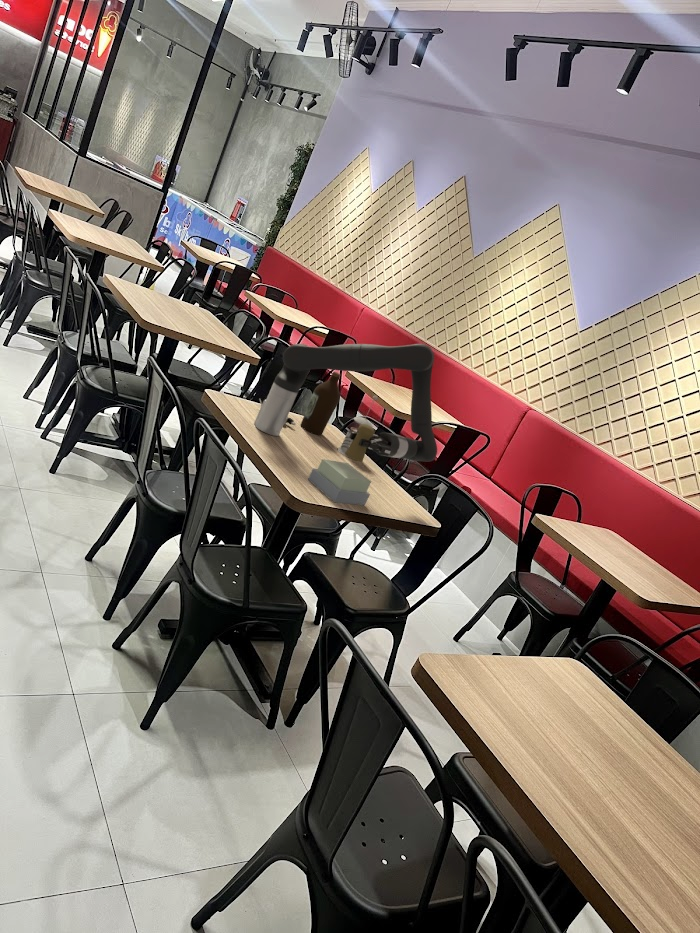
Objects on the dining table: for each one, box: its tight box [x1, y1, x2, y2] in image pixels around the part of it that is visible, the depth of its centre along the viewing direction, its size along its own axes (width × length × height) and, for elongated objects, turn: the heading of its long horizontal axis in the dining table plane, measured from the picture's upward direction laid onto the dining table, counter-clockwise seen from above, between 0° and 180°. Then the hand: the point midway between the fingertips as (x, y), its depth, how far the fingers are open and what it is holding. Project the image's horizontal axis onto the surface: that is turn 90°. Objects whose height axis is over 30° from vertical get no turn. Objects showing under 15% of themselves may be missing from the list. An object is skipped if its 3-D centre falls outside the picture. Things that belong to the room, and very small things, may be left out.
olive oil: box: [300, 371, 341, 436], centre depth 274 cm, size 11×11×25 cm
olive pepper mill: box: [345, 424, 375, 463], centre depth 216 cm, size 6×6×11 cm
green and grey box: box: [307, 458, 372, 506], centre depth 219 cm, size 14×14×8 cm
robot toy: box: [258, 398, 296, 426], centre depth 269 cm, size 12×4×15 cm
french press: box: [337, 395, 378, 458], centre depth 266 cm, size 10×12×25 cm
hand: (355, 438), depth 213 cm, fingers closed on olive pepper mill, 4 cm apart
